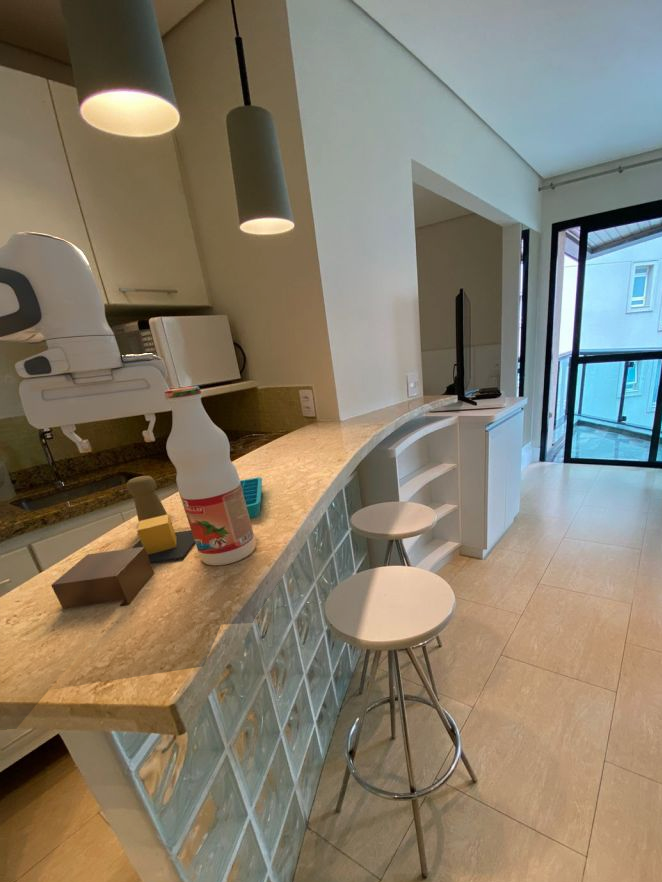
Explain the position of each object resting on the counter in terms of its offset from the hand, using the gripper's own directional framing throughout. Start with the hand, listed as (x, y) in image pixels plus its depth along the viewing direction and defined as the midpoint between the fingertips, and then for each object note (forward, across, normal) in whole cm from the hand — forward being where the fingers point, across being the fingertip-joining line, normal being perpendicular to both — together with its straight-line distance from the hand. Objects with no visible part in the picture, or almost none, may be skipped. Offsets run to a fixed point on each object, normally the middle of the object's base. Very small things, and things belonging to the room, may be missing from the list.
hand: (119, 446), depth 68 cm
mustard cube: (+19, -1, 0) cm, 19 cm away
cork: (+20, 0, -13) cm, 24 cm away
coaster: (+20, -1, 0) cm, 20 cm away
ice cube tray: (+20, -17, -13) cm, 29 cm away
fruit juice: (+20, -12, +11) cm, 25 cm away
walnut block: (+20, +6, +13) cm, 24 cm away
